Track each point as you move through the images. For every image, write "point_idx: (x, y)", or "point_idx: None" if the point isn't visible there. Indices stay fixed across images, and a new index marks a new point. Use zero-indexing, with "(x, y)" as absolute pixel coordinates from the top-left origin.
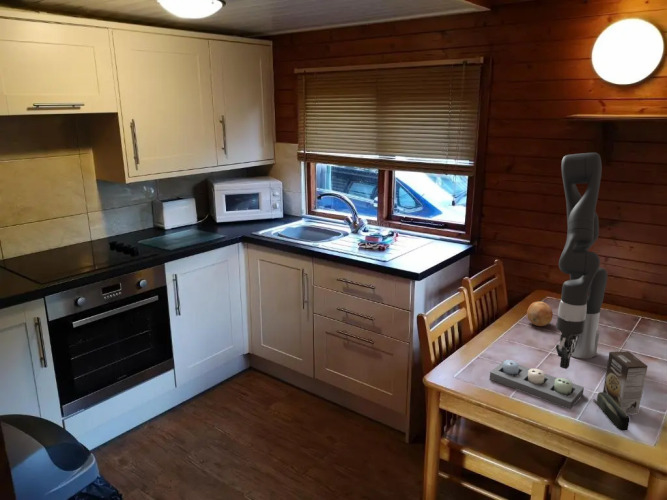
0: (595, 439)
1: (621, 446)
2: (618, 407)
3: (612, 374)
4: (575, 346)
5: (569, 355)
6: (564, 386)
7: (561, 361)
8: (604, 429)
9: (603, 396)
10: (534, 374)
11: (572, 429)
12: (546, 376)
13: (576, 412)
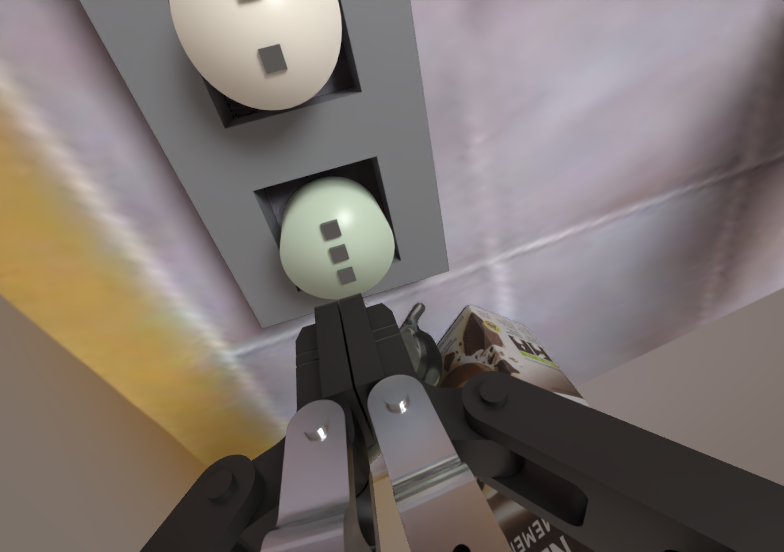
0: (194, 443)
1: None
2: (371, 456)
3: None
4: (576, 486)
5: (357, 497)
6: (298, 286)
7: (298, 376)
8: (278, 419)
9: None
10: (209, 34)
11: (151, 389)
12: (383, 55)
13: (274, 325)
